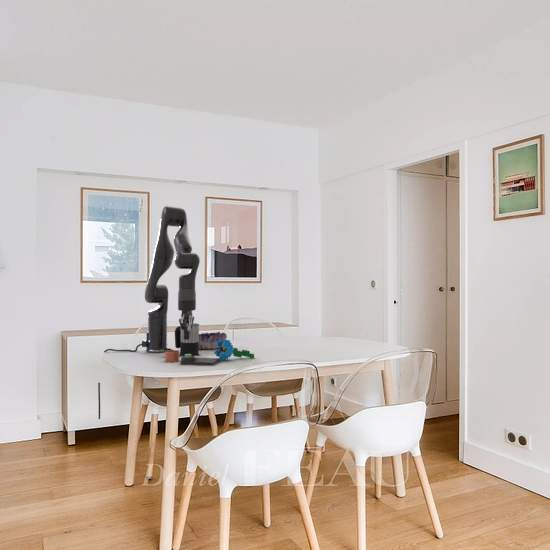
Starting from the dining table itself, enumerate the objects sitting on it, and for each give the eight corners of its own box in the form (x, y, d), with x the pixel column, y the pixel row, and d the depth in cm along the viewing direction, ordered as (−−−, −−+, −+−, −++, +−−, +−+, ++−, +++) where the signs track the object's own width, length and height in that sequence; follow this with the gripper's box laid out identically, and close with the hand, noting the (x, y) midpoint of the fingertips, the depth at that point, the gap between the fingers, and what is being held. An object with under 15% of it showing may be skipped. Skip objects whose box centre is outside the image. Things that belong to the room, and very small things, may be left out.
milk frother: (202, 354, 259) (202, 323, 259) (187, 358, 244) (187, 326, 244) (176, 352, 263) (176, 322, 263) (159, 357, 248) (159, 325, 248)
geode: (192, 351, 268) (190, 331, 269) (185, 351, 279) (184, 332, 280) (230, 347, 277) (228, 328, 278) (222, 347, 287) (220, 329, 289)
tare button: (183, 358, 228) (183, 354, 228) (186, 357, 231) (186, 353, 231) (190, 358, 228) (190, 354, 228) (192, 357, 230) (192, 353, 230)
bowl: (162, 362, 234) (162, 351, 234) (168, 360, 240) (168, 350, 240) (176, 362, 233) (176, 352, 233) (181, 360, 239) (181, 350, 239)
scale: (179, 364, 227) (179, 357, 227) (189, 360, 239) (189, 353, 239) (211, 366, 224) (211, 358, 224) (220, 361, 236) (220, 354, 236)
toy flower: (255, 367, 242) (219, 359, 234) (246, 364, 250) (211, 357, 242) (259, 347, 243) (224, 339, 235) (251, 345, 251) (216, 337, 243)
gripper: (184, 298, 237) (183, 337, 237) (172, 299, 224) (172, 341, 224) (200, 298, 236) (200, 337, 236) (189, 300, 223) (189, 341, 223)
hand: (186, 339), depth 230 cm, fingers closed
